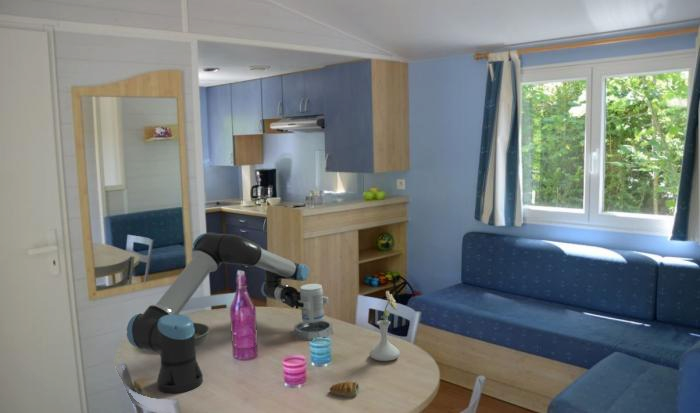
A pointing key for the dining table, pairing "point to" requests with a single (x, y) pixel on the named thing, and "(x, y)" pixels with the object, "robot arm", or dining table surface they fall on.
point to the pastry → (345, 389)
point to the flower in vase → (385, 337)
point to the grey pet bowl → (312, 330)
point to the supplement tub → (312, 303)
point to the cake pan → (200, 332)
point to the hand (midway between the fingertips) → (318, 303)
